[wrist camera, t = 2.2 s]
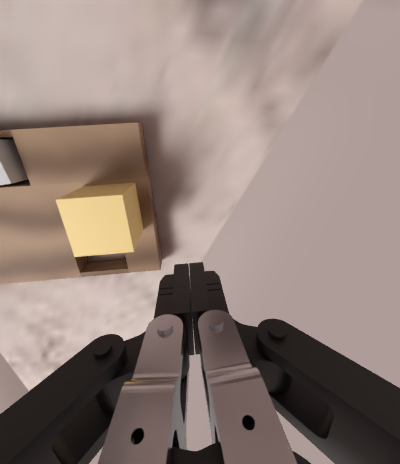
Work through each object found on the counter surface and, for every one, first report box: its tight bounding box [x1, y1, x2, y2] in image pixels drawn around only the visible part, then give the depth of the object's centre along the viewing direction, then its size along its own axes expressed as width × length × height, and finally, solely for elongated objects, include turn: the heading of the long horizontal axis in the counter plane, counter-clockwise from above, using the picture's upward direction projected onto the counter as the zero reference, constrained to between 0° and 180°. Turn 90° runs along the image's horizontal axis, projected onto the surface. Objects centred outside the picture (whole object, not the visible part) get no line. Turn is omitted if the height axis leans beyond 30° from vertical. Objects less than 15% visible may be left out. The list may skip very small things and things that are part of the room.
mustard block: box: [56, 183, 143, 257], centre depth 22 cm, size 6×6×6 cm
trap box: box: [0, 122, 162, 284], centre depth 24 cm, size 17×25×4 cm
